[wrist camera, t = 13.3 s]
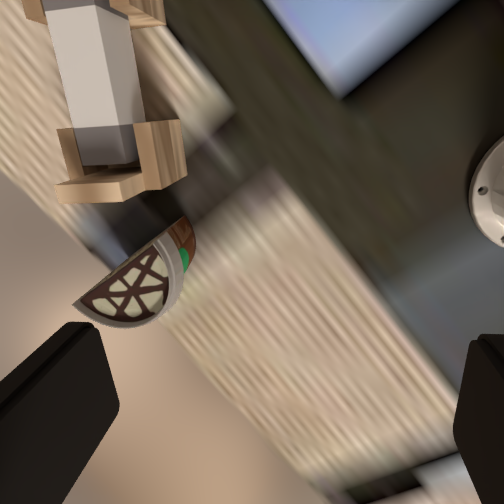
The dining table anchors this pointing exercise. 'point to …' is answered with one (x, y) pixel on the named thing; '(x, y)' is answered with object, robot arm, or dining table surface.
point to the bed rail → (97, 78)
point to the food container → (143, 281)
